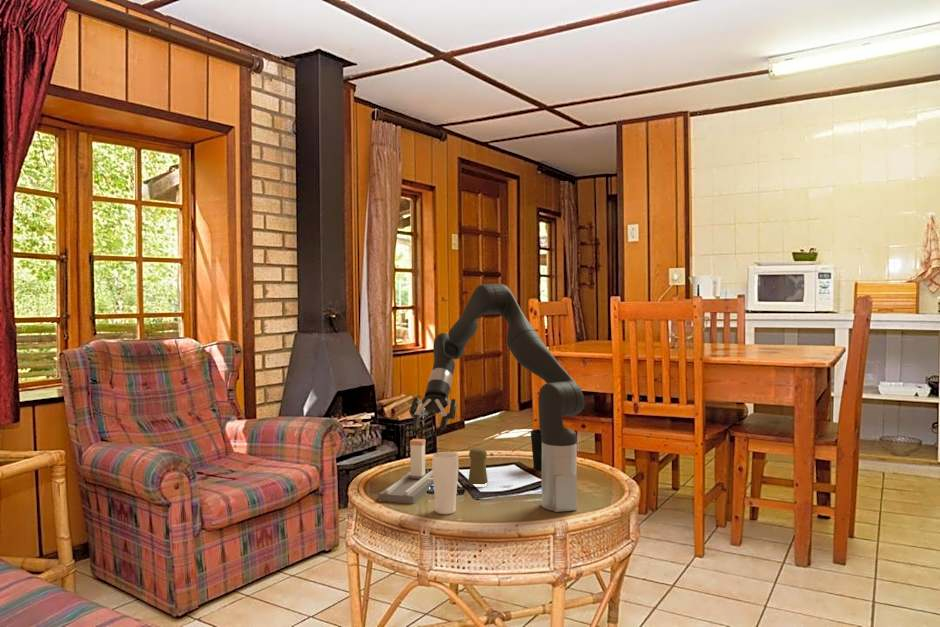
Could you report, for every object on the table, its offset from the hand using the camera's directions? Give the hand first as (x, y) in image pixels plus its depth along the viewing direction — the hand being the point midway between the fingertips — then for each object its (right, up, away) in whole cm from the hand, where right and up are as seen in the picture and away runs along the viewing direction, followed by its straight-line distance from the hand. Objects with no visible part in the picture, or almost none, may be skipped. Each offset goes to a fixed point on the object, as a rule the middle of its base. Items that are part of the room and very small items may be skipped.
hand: (428, 428), depth 217 cm
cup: (+36, -15, +11) cm, 41 cm away
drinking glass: (+6, -17, -33) cm, 38 cm away
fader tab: (-3, -13, -8) cm, 16 cm away
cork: (+15, -16, -8) cm, 23 cm away
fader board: (-4, -16, -14) cm, 21 cm away
